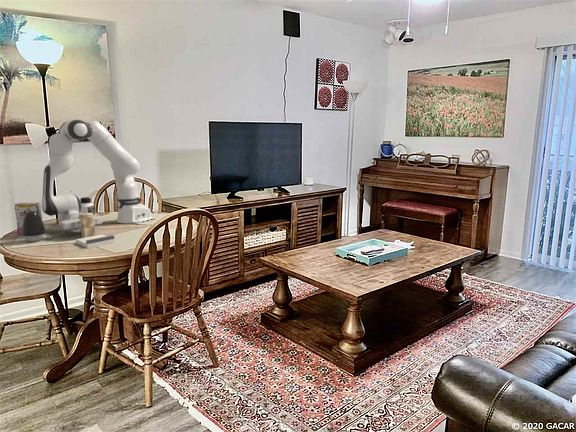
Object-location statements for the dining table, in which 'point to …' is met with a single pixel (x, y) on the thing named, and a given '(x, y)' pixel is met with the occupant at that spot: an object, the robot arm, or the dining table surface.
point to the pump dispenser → (33, 227)
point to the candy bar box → (25, 207)
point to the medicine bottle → (87, 206)
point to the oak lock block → (87, 225)
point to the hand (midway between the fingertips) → (87, 224)
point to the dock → (95, 241)
